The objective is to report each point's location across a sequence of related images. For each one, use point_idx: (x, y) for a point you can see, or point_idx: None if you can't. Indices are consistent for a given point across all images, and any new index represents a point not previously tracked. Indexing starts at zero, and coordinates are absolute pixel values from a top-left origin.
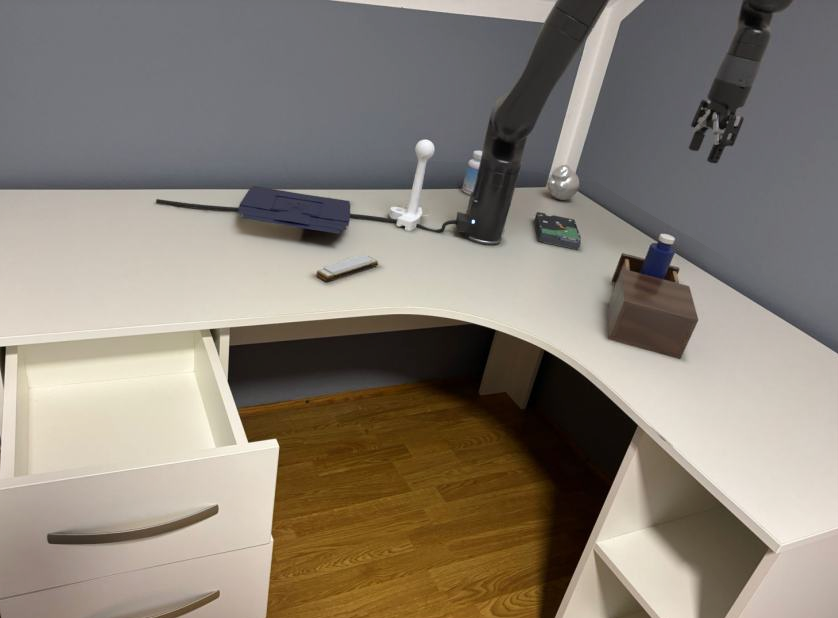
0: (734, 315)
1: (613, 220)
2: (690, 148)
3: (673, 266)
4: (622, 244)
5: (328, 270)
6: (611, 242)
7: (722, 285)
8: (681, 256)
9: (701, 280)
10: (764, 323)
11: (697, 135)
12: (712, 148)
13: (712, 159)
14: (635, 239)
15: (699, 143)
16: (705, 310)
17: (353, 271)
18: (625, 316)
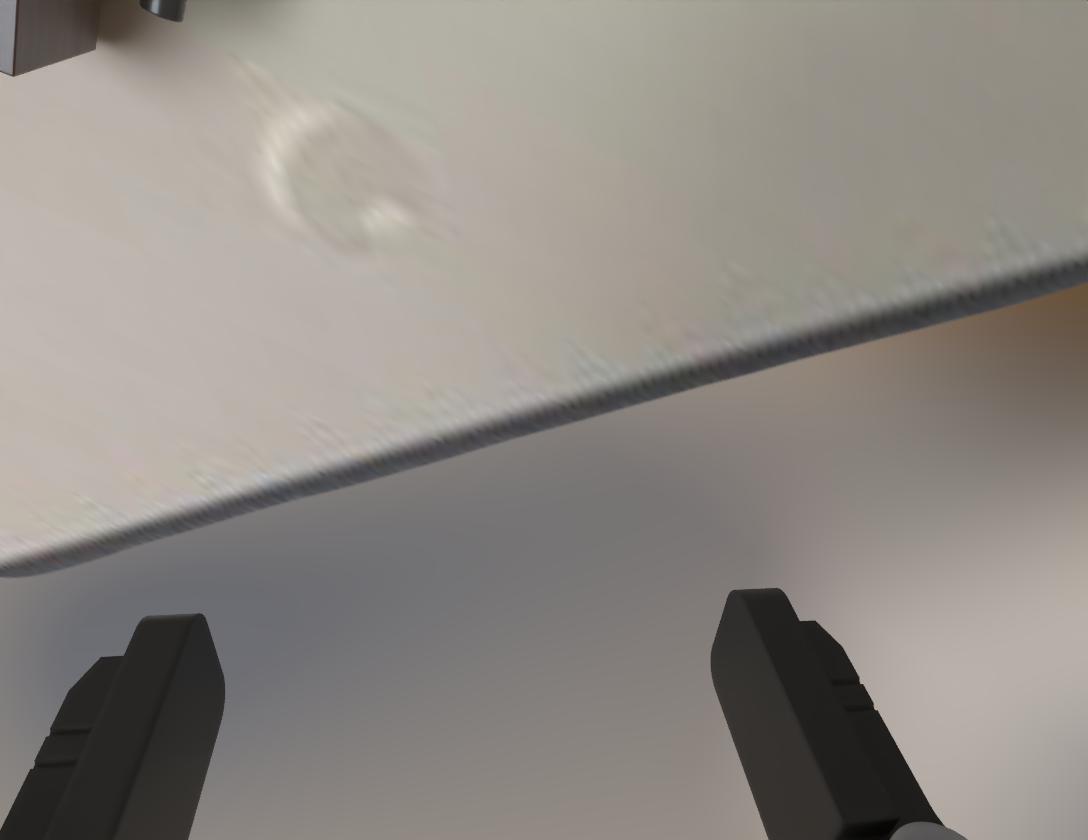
0: (85, 346)
1: (1030, 219)
2: (741, 597)
3: (3, 34)
4: (754, 121)
5: None
6: (778, 56)
7: (390, 429)
8: (645, 383)
9: (412, 360)
10: (72, 438)
11: (819, 811)
12: (102, 804)
13: (92, 671)
14: (812, 235)
15: (746, 741)
16: (65, 224)
17: None
18: None
